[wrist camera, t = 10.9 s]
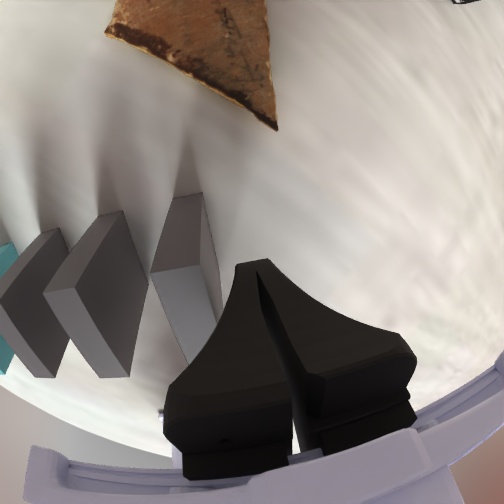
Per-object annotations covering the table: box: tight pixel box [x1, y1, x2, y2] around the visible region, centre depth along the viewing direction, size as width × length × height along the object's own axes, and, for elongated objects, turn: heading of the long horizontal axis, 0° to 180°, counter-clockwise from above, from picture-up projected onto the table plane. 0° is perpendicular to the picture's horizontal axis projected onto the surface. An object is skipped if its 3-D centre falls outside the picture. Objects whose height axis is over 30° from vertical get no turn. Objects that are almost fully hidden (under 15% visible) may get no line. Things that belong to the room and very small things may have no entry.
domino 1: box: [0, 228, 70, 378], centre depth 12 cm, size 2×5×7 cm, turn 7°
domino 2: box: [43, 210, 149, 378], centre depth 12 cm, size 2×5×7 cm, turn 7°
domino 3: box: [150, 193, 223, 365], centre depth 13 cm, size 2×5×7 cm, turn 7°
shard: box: [104, 0, 278, 132], centre depth 10 cm, size 11×8×2 cm
